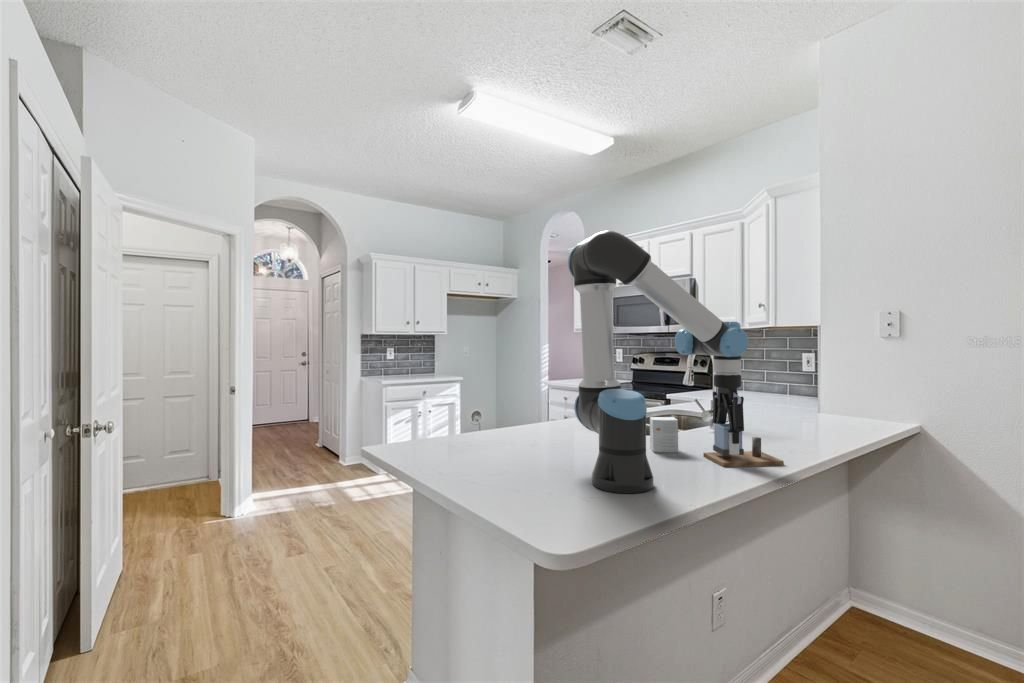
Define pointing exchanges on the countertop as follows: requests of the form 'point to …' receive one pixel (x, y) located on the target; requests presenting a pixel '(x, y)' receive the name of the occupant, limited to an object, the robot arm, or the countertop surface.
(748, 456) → the pin board
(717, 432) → the sleeve
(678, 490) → the countertop surface
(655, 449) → the small box
